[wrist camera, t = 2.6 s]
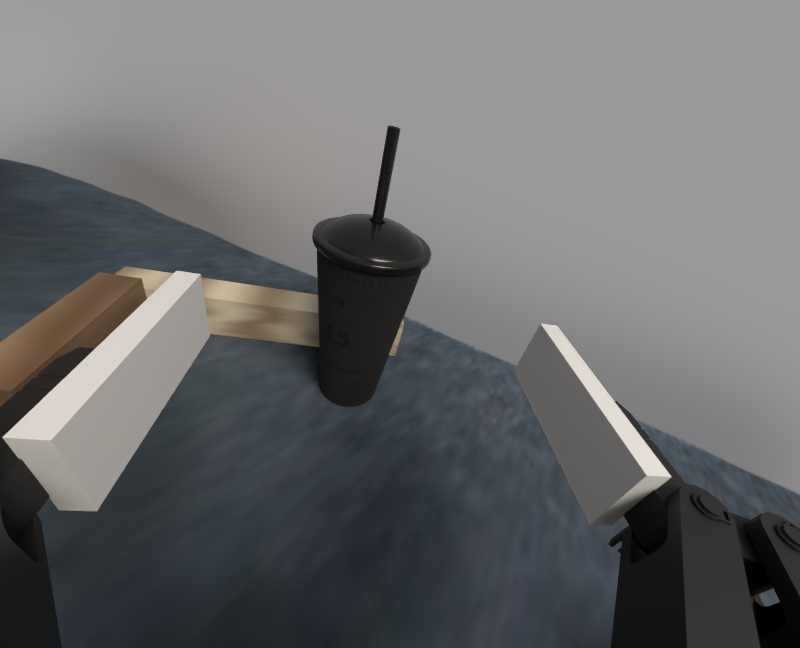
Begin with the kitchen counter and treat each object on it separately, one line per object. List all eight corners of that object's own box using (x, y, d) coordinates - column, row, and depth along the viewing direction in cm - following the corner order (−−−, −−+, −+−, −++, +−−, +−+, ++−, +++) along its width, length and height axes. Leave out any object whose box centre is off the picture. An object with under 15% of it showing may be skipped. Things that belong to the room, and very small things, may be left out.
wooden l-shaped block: (-11, 443, 19) (-61, 384, 17) (136, 303, 31) (122, 256, 29) (403, 468, 24) (421, 425, 21) (393, 337, 36) (403, 299, 33)
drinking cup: (324, 346, 32) (351, 108, 21) (398, 370, 32) (467, 140, 21) (285, 402, 26) (292, 108, 15) (376, 433, 26) (457, 154, 14)
